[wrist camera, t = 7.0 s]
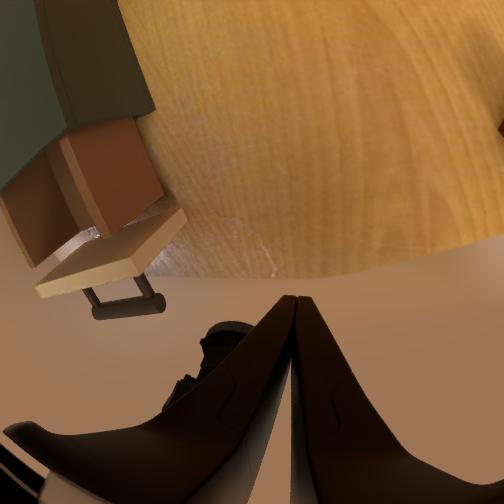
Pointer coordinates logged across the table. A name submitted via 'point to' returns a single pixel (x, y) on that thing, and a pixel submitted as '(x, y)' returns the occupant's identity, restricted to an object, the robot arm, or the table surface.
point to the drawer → (93, 215)
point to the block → (502, 129)
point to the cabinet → (62, 75)
